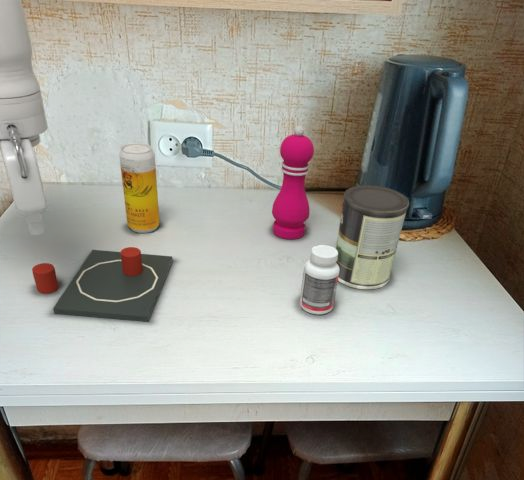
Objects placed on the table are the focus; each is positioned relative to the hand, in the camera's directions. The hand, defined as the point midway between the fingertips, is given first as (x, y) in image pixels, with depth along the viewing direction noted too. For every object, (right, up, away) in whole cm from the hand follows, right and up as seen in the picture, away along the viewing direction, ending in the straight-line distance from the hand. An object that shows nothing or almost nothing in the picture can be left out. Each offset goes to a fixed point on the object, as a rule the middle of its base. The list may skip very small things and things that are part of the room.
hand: (33, 217), depth 73 cm
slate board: (+10, -9, +9) cm, 16 cm away
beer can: (+10, +5, +26) cm, 28 cm away
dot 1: (-1, -9, +7) cm, 12 cm away
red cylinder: (+11, -6, +11) cm, 17 cm away
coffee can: (+50, -6, +17) cm, 53 cm away
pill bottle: (+41, -12, +8) cm, 44 cm away
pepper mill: (+38, +4, +28) cm, 47 cm away
